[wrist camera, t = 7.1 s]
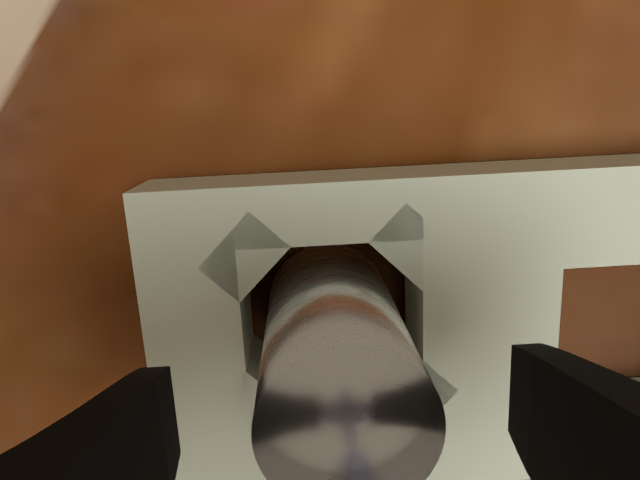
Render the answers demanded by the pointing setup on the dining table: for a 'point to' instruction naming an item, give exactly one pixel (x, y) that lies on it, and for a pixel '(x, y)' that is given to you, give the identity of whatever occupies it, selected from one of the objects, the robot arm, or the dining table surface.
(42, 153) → the dining table surface
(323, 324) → the cylinder
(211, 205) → the sage board
